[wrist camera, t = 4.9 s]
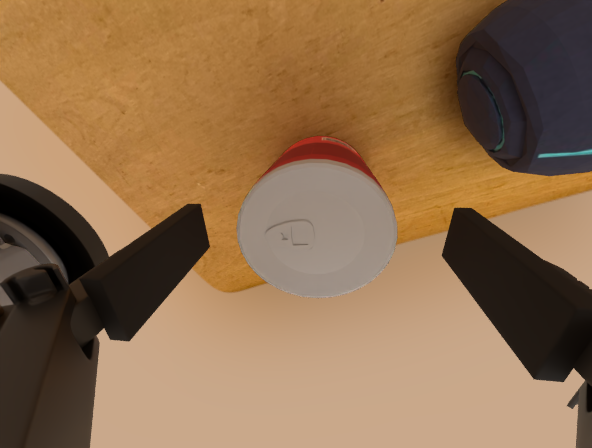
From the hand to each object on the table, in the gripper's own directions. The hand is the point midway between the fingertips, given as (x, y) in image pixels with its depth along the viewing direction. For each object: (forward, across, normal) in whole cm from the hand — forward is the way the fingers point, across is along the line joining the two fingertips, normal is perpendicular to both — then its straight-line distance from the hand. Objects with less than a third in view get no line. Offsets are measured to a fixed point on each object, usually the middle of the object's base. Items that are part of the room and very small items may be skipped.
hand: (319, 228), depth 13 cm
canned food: (+10, 0, 0) cm, 10 cm away
